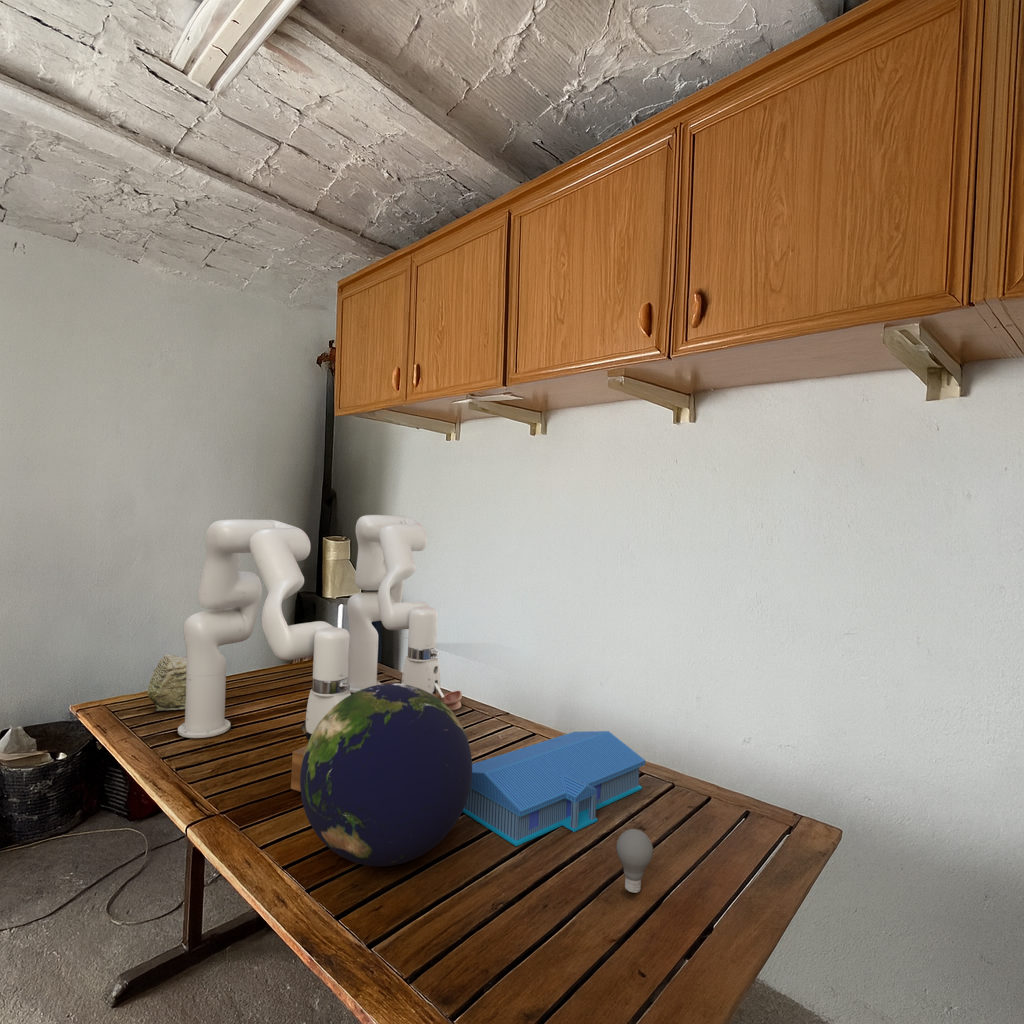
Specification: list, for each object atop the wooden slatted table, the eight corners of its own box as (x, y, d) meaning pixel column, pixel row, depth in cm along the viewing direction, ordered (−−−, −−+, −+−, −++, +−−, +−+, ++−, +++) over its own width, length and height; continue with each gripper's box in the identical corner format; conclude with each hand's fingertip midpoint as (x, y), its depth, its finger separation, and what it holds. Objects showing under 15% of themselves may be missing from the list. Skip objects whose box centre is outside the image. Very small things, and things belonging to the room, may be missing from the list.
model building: (528, 854, 115) (530, 799, 115) (447, 802, 133) (449, 755, 133) (654, 793, 142) (656, 749, 141) (573, 757, 160) (574, 718, 159)
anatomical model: (412, 696, 190) (425, 685, 201) (412, 709, 190) (424, 698, 201) (455, 701, 187) (465, 690, 199) (454, 714, 188) (465, 702, 199)
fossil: (144, 707, 182) (145, 655, 182) (212, 696, 194) (213, 647, 194) (151, 716, 175) (153, 662, 175) (221, 703, 188) (223, 653, 188)
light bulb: (610, 879, 108) (613, 822, 108) (644, 879, 109) (647, 822, 109) (619, 902, 102) (622, 840, 102) (655, 901, 103) (658, 840, 103)
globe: (257, 876, 105) (264, 696, 104) (364, 800, 133) (370, 657, 132) (413, 929, 94) (422, 728, 93) (494, 834, 121) (501, 678, 121)
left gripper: (372, 687, 139) (368, 769, 139) (312, 674, 146) (309, 752, 147) (349, 696, 132) (345, 782, 133) (288, 682, 140) (284, 763, 140)
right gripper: (455, 655, 171) (452, 721, 172) (403, 645, 179) (401, 709, 179) (441, 661, 164) (437, 730, 165) (387, 650, 172) (384, 717, 172)
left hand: (326, 765), depth 140 cm, fingers closed on post, 5 cm apart
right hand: (418, 718), depth 172 cm, fingers closed on post, 5 cm apart
